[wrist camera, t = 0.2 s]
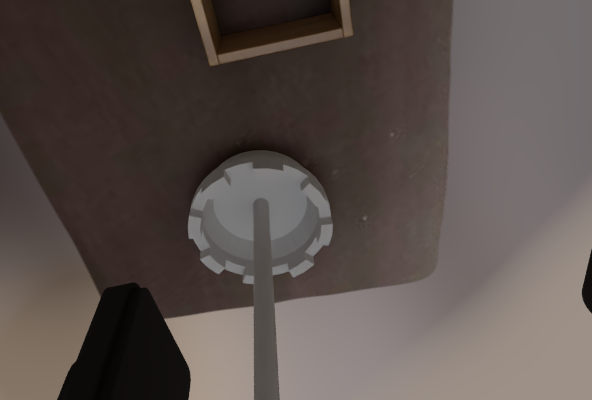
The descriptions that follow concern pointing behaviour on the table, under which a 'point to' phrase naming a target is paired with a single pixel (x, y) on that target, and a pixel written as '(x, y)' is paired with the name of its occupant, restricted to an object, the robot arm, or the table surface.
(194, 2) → the wooden box
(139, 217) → the table surface
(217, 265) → the flag stand
